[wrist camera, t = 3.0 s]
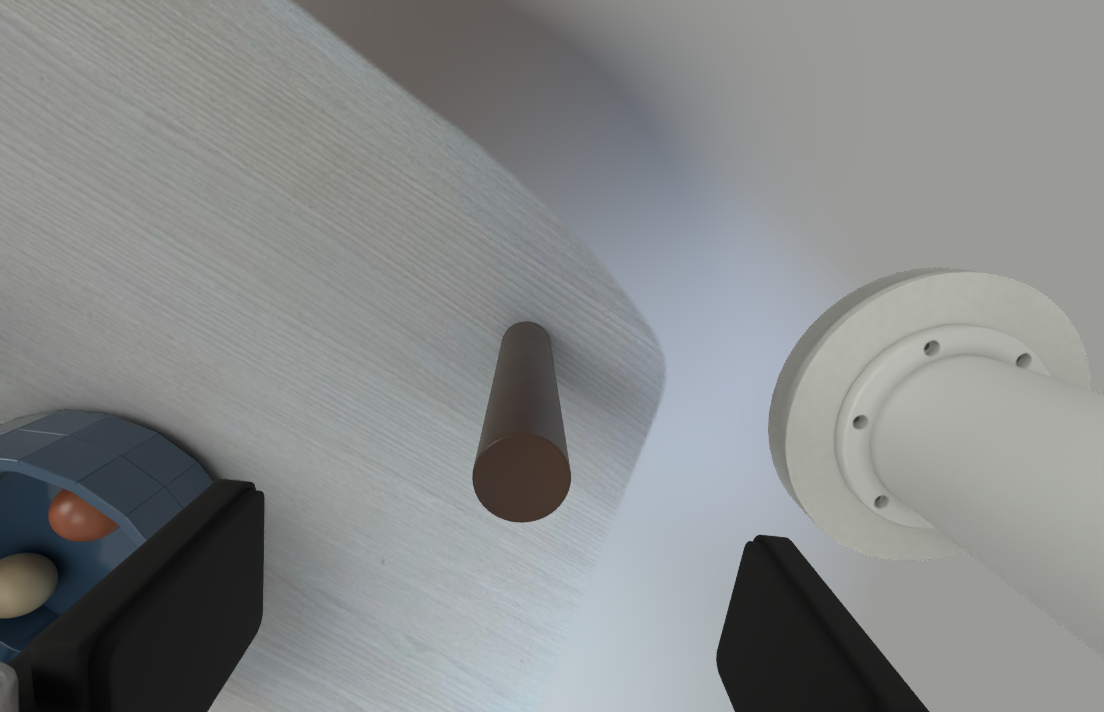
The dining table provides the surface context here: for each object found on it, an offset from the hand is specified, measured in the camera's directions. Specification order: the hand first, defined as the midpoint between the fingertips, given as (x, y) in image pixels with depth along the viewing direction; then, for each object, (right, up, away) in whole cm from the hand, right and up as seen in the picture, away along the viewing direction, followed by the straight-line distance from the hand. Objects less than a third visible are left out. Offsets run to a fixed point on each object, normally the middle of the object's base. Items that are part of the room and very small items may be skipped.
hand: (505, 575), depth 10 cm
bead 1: (-27, -8, +18) cm, 34 cm away
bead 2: (-23, -4, +17) cm, 29 cm away
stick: (0, +5, +18) cm, 19 cm away
